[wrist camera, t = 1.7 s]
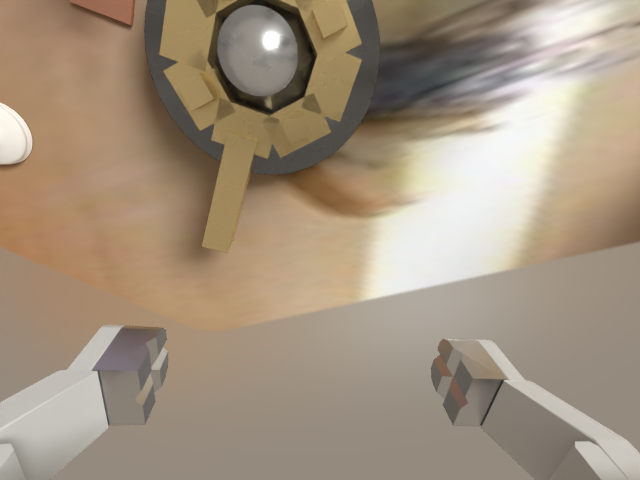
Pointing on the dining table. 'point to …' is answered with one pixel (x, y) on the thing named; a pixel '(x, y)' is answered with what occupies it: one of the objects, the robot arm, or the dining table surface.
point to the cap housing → (261, 71)
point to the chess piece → (13, 137)
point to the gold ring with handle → (245, 121)
